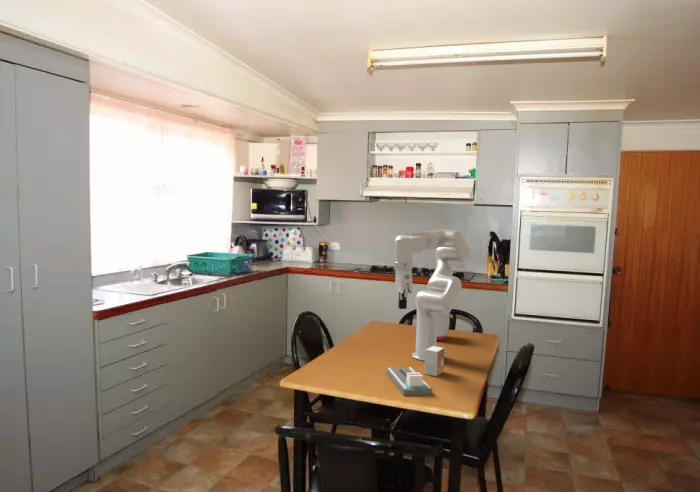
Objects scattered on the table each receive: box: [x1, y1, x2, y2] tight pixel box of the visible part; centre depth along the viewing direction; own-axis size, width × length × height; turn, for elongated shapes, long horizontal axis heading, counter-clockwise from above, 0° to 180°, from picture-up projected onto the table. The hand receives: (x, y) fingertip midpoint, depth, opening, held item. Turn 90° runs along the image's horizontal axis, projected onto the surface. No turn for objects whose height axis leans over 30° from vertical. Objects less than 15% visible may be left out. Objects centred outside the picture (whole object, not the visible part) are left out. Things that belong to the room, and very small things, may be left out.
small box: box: [424, 345, 445, 377], centre depth 206 cm, size 8×6×10 cm
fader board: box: [385, 366, 433, 396], centre depth 193 cm, size 11×25×2 cm, turn 11°
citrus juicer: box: [434, 311, 454, 341], centre depth 265 cm, size 16×17×20 cm
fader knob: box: [406, 371, 424, 387], centre depth 185 cm, size 5×4×4 cm
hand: (402, 308), depth 209 cm, fingers closed
